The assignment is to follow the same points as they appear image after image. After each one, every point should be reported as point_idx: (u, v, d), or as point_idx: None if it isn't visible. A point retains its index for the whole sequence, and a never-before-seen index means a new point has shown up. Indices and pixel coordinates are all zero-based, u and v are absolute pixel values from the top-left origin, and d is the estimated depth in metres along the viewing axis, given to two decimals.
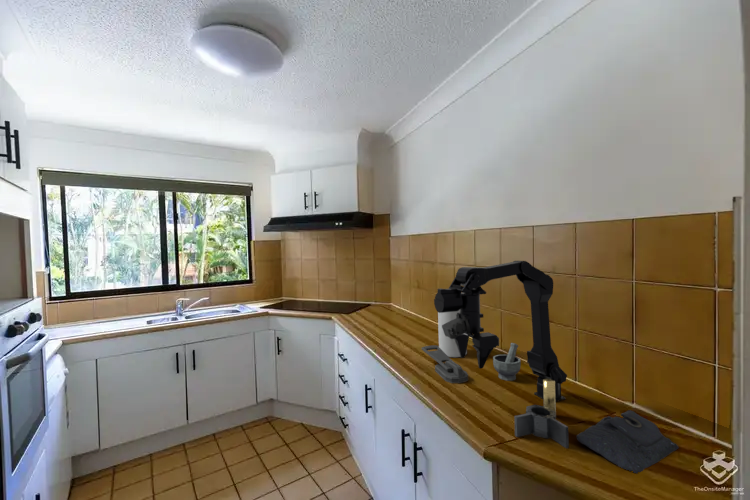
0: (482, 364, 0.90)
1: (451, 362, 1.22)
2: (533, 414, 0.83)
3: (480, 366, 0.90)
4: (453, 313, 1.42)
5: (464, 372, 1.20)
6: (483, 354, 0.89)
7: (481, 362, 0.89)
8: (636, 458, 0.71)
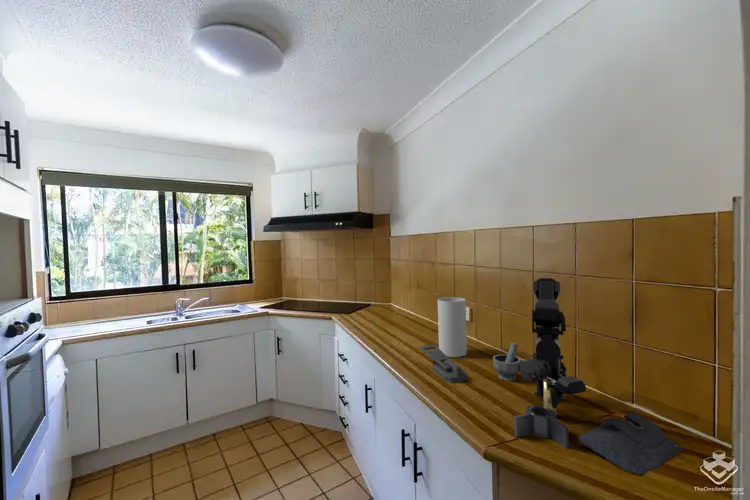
0: (556, 404, 0.89)
1: (450, 361, 1.22)
2: (533, 414, 0.83)
3: (554, 406, 0.89)
4: (453, 313, 1.42)
5: (463, 371, 1.20)
6: (557, 394, 0.89)
7: (555, 402, 0.89)
8: (639, 460, 0.70)
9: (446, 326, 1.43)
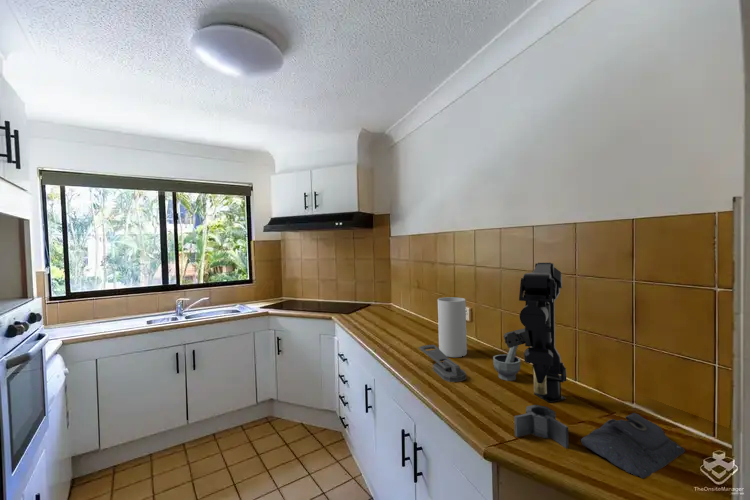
0: (540, 379, 0.82)
1: (449, 361, 1.23)
2: (533, 414, 0.83)
3: (538, 380, 0.83)
4: (453, 313, 1.42)
5: (462, 371, 1.21)
6: (540, 368, 0.82)
7: (537, 376, 0.83)
8: (642, 462, 0.69)
9: (446, 326, 1.43)
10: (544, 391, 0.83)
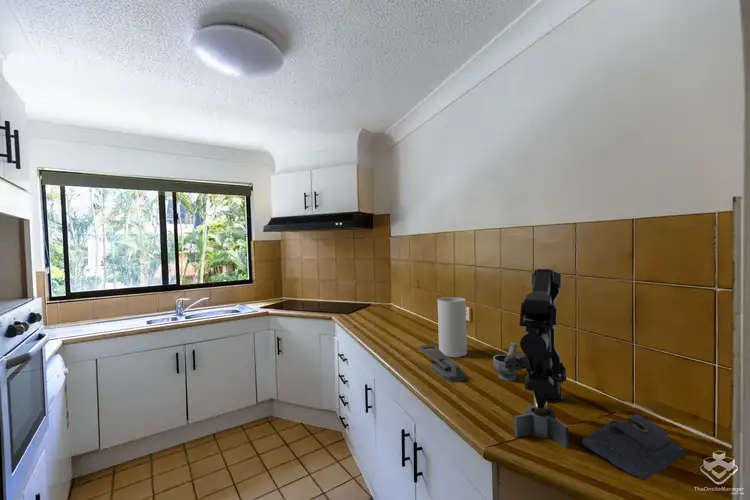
0: (541, 405, 0.82)
1: (448, 361, 1.23)
2: (533, 414, 0.83)
3: (538, 406, 0.83)
4: (453, 313, 1.42)
5: (461, 371, 1.21)
6: (540, 394, 0.82)
7: (538, 401, 0.83)
8: (644, 464, 0.69)
9: (446, 326, 1.43)
10: None
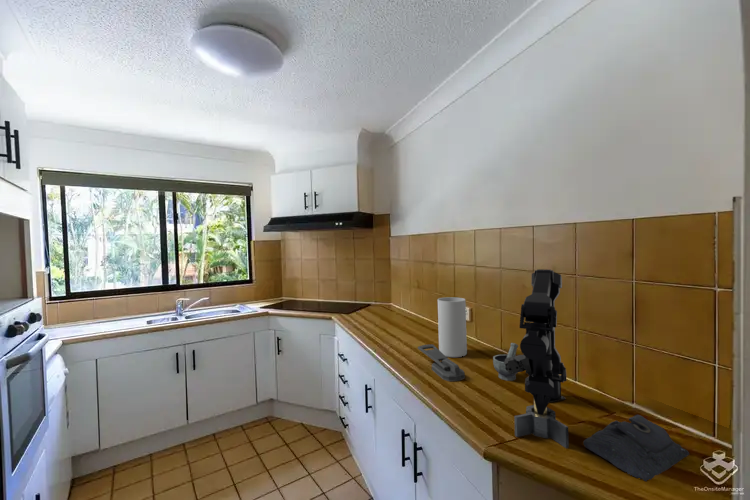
0: (541, 411, 0.81)
1: (448, 361, 1.23)
2: (533, 414, 0.83)
3: (538, 411, 0.81)
4: (453, 313, 1.42)
5: (461, 370, 1.21)
6: (540, 399, 0.80)
7: (538, 407, 0.81)
8: (646, 465, 0.69)
9: (446, 326, 1.43)
10: None
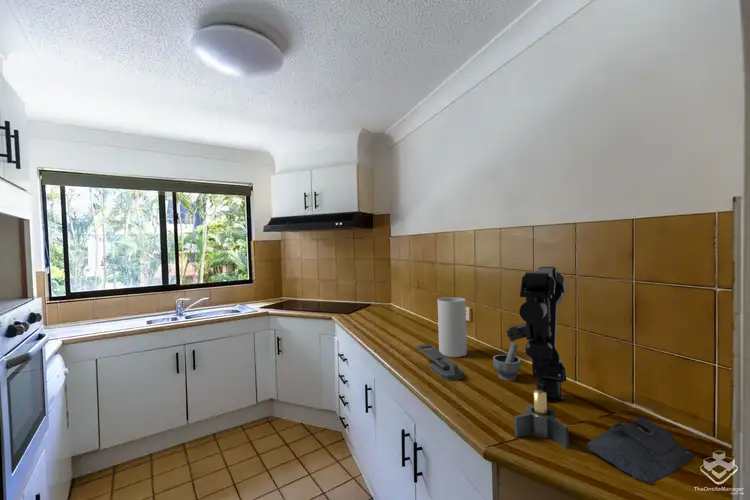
0: (540, 374, 0.86)
1: (446, 360, 1.24)
2: (533, 414, 0.83)
3: (538, 375, 0.86)
4: (453, 313, 1.42)
5: (459, 369, 1.22)
6: (540, 363, 0.85)
7: (537, 371, 0.86)
8: (651, 468, 0.68)
9: (446, 326, 1.43)
10: None
